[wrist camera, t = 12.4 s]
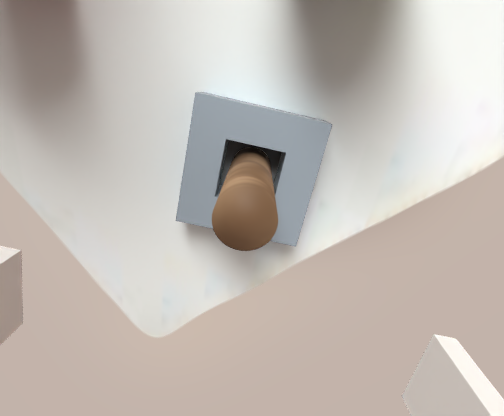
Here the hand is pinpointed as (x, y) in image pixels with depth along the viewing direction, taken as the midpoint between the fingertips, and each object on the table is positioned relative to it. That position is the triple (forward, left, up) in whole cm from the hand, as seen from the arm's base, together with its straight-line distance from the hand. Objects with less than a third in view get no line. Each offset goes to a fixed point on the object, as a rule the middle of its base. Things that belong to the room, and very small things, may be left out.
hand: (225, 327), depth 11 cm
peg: (0, 0, -25) cm, 25 cm away
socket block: (0, 0, -25) cm, 25 cm away
